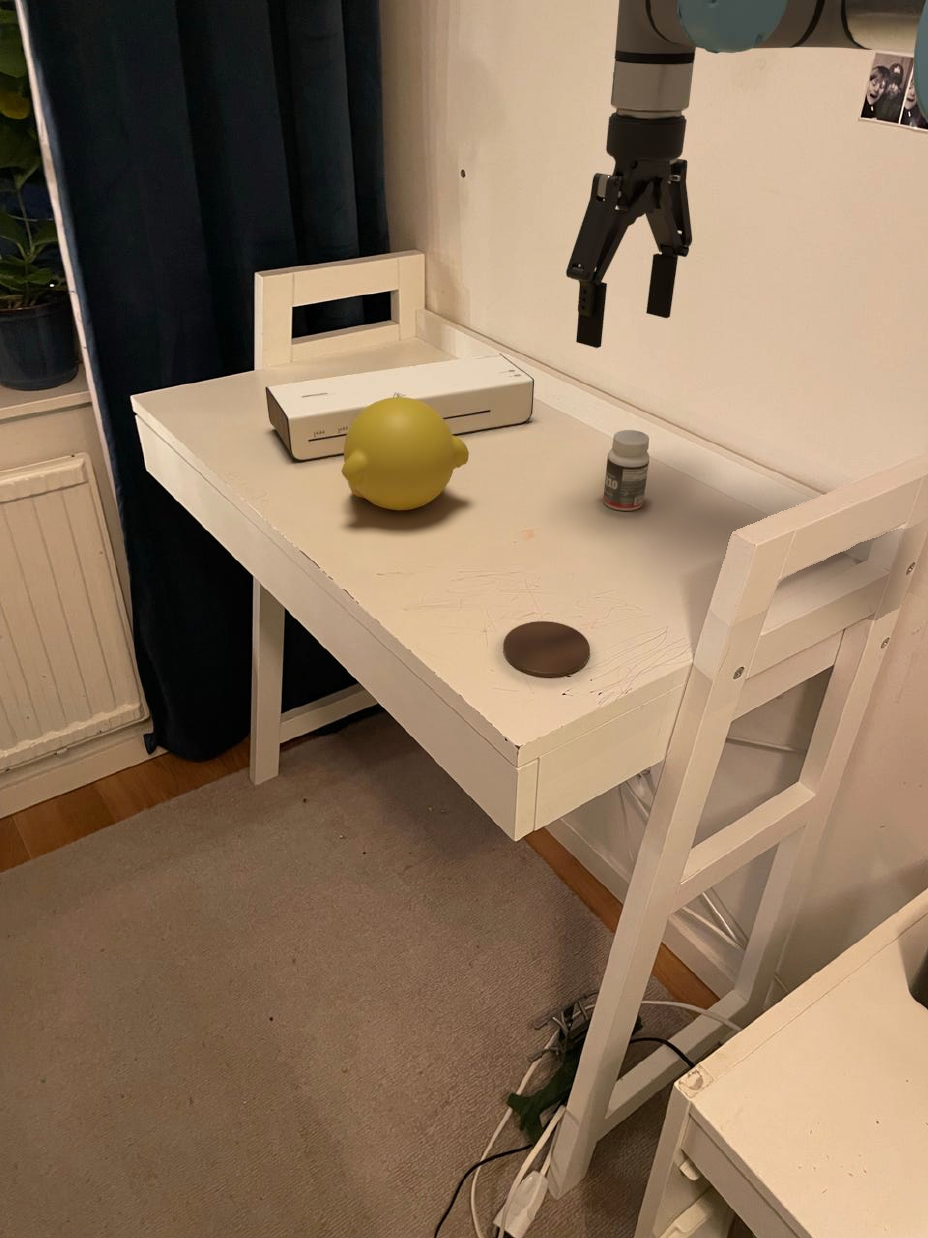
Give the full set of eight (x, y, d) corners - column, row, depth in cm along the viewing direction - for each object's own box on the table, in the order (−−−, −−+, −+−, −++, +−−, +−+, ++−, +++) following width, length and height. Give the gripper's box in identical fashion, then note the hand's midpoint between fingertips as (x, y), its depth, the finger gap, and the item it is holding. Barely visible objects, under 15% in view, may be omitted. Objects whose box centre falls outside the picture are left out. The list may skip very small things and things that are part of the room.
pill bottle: (598, 494, 112) (604, 429, 107) (635, 491, 113) (644, 426, 108) (609, 513, 108) (616, 446, 103) (648, 510, 109) (657, 444, 104)
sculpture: (431, 447, 117) (448, 365, 106) (469, 523, 111) (491, 444, 100) (315, 467, 112) (321, 382, 101) (349, 548, 106) (359, 467, 95)
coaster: (606, 648, 87) (606, 644, 87) (554, 689, 82) (554, 684, 82) (538, 615, 91) (539, 611, 91) (485, 651, 86) (485, 647, 86)
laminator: (291, 463, 118) (286, 417, 114) (268, 426, 127) (262, 382, 123) (532, 422, 129) (534, 379, 125) (494, 390, 138) (496, 349, 135)
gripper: (682, 97, 100) (656, 297, 113) (538, 120, 85) (527, 349, 98) (745, 103, 96) (711, 310, 109) (606, 129, 81) (586, 366, 93)
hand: (624, 329), depth 103 cm, fingers open, 13 cm apart
